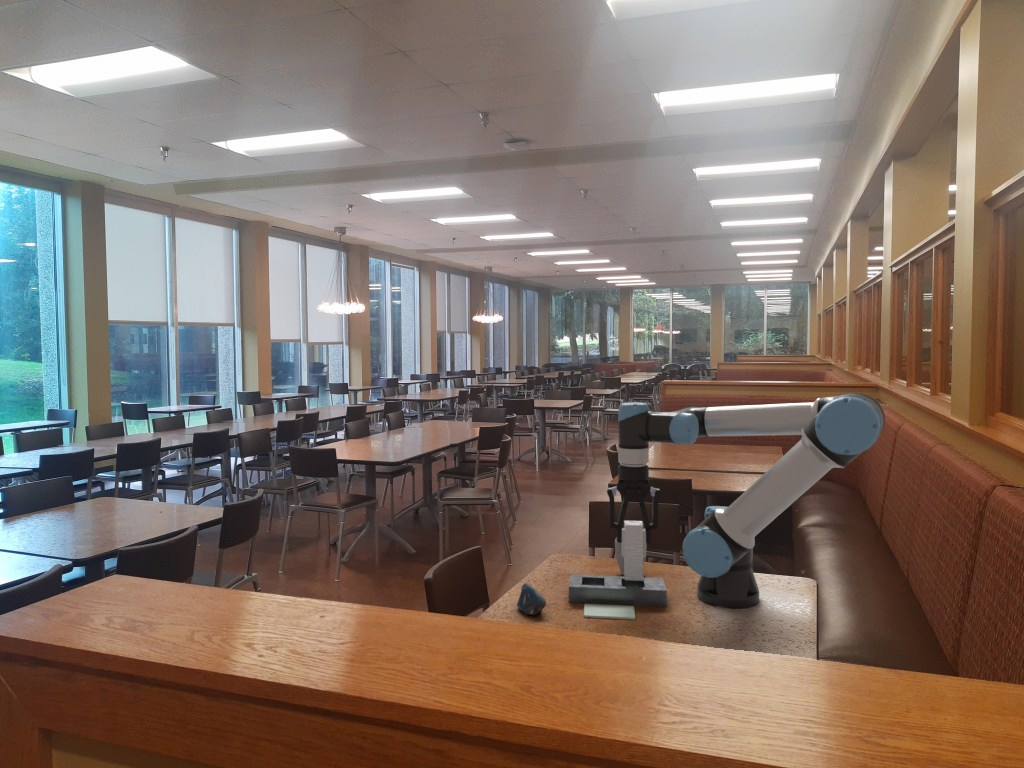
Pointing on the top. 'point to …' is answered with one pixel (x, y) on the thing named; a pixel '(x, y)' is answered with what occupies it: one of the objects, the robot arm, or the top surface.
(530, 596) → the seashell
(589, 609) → the green pad
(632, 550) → the steel peg
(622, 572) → the mug
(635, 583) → the grey hollow block
